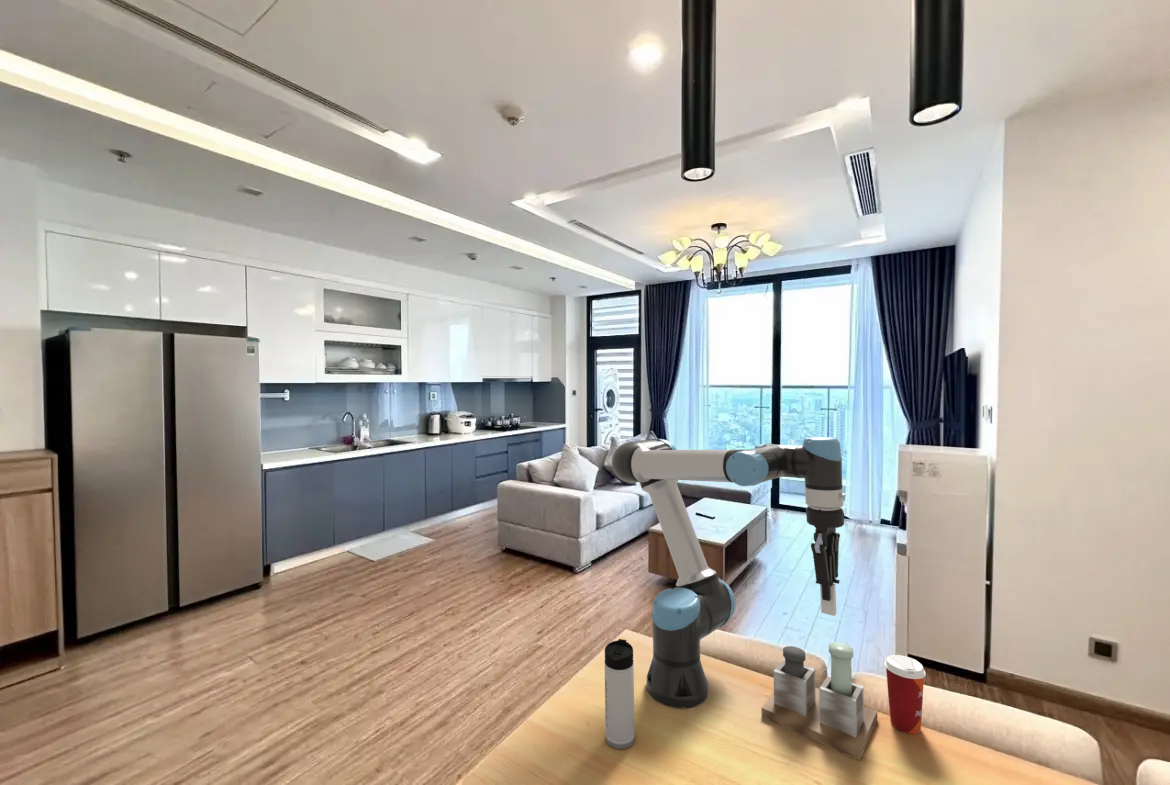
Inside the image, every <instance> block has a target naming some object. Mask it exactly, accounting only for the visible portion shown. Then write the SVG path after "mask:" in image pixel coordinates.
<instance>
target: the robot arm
mask: <svg viewBox="0 0 1170 785" xmlns="http://www.w3.org/2000/svg"><path fill="white" fill-rule="evenodd" d="M675 446H676V445H674V444H673V443H671V442H670V441H668V440H666V439H663V438H649V439H644V440H637V441H636V440H635V441H628V442H625V443H622V444H621V445H619V446H618V447H617V448H616V449H615V451H614V452H613V454H612V457H611V468H612V471H613V472H614V474H615V476H616V477H617V479H620V480H621V481H623V482H626V483H629V484H633V483H639V485H640V487H641V490H642V491H643V492H646V493H647V494H648V495H649V497H650V500H651V503H652V506H653V510H654V511H655V514H656V518H657V520H658V521H659V525H660V528H661V531H662V534H663V536H664V540H665V542H666V544H667V547H668V551H669V553H670V556H671V559H672V562H673V564H674V567H675V569H676V573H677V576H678V578H677V581H676V583H675V586H676V587H674V588H671V587H670V588H666V589H663V590H662V591H660V592H658V594H657V595H656V596H655V597H654V598H653V602H652V611H651V618H652V653H653V654H652V655H653V656H652V659H651V662H650V664H649V665H650V666H649V668H648V672H647V675H646V689H647V693H648V695H649V696H650V697H651V698H652V699H653V700H655V701H656V702H658V703H659V704H662V705H664V706H665V707H670V708H675V709H687V708H694V707H697V706H699V705H701V704H703V703H704V702H705V701H706V699H707V698H708V696H709V685H708V684H709V683H708V680H707V677H706V674H705V671H704V670H705V669H704V668H703V667H704V666H703V664H702V661H701V640H702V639H703V638H705V637H707V636H708V635H710V634H711V633H714V632H715V631H716V630H718V629H721V628H722V627H723V626H725V625H726V624H727V623H728V622H730V620H731V619H732V618H733V616H734V614H735V611H736V598H735V595H734V592H733V590H732V589H731V587H730V585H729V584H728V583H725V581H724V580H723V579H722V578H719V576H718V574H717V570H714V569H713V568H711V567H709V565H708V563H707V560H706V557H705V556H704V552H703V550H702V547H701V544H700V542H699V538H698V536H697V533H696V531H695V528H694V525H693V523H692V521H691V518H690V516H689V513H688V510H687V508H686V505H685V501H684V500H683V497H682V494H681V492H680V489H679V486H678V481H692V482H694V481H695V482H715V483H716V482H717V483H734V484H736V485H738V486H739V487H740V486H741V487H749V486H751V487H752V486H756V485H759V484H762V483H765V482H768V481H772V480H775V479H779V478H794V479H795V478H796V479H804V488H805V490H804V491H805V492H804V495H805V497H804V498H805V505H806V508H805V509H806V510H805V514H806V517H805V518H806V523H807V524H808V525H811V526H812V527H813V526H814V528H815V532H814V533H813V541H814V542H811V543H810V548H811V552H812V555H813V556H812V557H813V564H814V572H815V584H818V585H819V587H820V590H819V591H820V610H821V614H825V615H829V616H833V617H836V615H837V594H836V593H837V592H836V591H837V590H836V584H837V585H838V584H840V582H841V580H840V579H837V578H838V577H839V551H840V550H839V549H840V545H839V544H840V538H841V534H840V532H837V531H836V530H837V528H841V527H843V526H844V525H845V514H844V512H845V511H844V509H843V508H842V507H843V506H844V499H845V498H846V493H844V492H843V467H842V466H843V457H842V452H841V450H842V449H841V443H840V440H838V439H837V438H836V437H831V436H830V437H827V436H820V437H819V436H815V437H814V436H810V437H805V438H804V439H803V444H802V445H790V444H775V443H765V444H764V443H763V444H762V443H760V444H759V443H758V444H757V445H755V446H754V448H751V449H677V448H676V447H675Z"/></svg>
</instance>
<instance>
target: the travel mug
mask: <svg viewBox="0 0 1170 785" xmlns="http://www.w3.org/2000/svg"><path fill="white" fill-rule="evenodd" d="M634 667H635V666H634V647H633V646H632V644H630V643H629V642H627V639H621V638H619V639H618V640H614V641H611V642H609V643H608V644H606V645H605V647H604V708H605V711H604V714H605V716H604V718H605V719H604V720H605V722H604V723H605V741H606V743H607V745H609V746H610V747H611V748H612V749H618V750H626V749H627V748H630V747H632V745H633V744H634V743H635V739H636V738H635V733H636V732H635V680H634V679H635V677H634V676H635V673H634V672H635V669H634Z"/></svg>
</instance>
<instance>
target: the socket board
mask: <svg viewBox="0 0 1170 785" xmlns="http://www.w3.org/2000/svg"><path fill="white" fill-rule="evenodd" d="M864 697H865V696H864V686H863V685H861V684H857V683H855V682H852V697H848V696H846V695H843V694H840V693H838V692H835V691H832V690H831V673H830V674H828V675H826V677H825V679H824V681H823V682H822V684H821V685H820V686H819V688H818V687H816V669H815V668H813V667H809V666H808V665H806V664H804V677H803V678H802V679H800V678H798V677H795V676H792V675H790V674H787V673H785V658H784V657H783V659H782V661H781V662H780V663H779V664H778V665H777V666H776V668H774V670H773V693H772V694H771V696H770V697H769V698H768V699H767V700H766V701H765V703H764V704H763V706H762V707H761V717H762V718H764V719H766V720H769V721H771V722H774V723H776V724H778V725H780V726H782V727H783V728H786V729H789V730H791V731H793V732H795V733H798V734H800V735H802V736H804V737H806V738H808V739H811V740H813V741H815V742H817V741H818V743H820V744H822V745H825V746H826V747H828V746H829V747H828V748H831V749H833V748H834V750H835V749H836V750H835V751H837V750H838V751H837V752H839V751H840V753H842V752H843V753H842V754H844V753H845V754H844V755H846V754H847V755H846V756H848V755H849V756H848V757H851V758H853V759H855V758H856V759H855V760H858V761H859V760H860V761H861V759H860V758H862V756H863V753H864V752H865V749H866V747H867V744H868V743H869V740H870V738H871V736H870V735H872V733H873V731H874V729H875V726H876V724H877V722H878V710H876V709H874V708H873V709H872V708H870V707H867V706H865V705H864V700H865V699H864ZM867 742H868V743H867Z"/></svg>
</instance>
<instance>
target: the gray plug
mask: <svg viewBox="0 0 1170 785" xmlns="http://www.w3.org/2000/svg"><path fill="white" fill-rule="evenodd" d="M782 656H783V659H784V658H785V673H787V674H790V675H792V676H795V677H798V678H800V679H802V678H803V677H804V665H805V661H806V651H804V650H803V649H802V648H800V647H798V646H792V645H788V646H784V647H783V649H782Z"/></svg>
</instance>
